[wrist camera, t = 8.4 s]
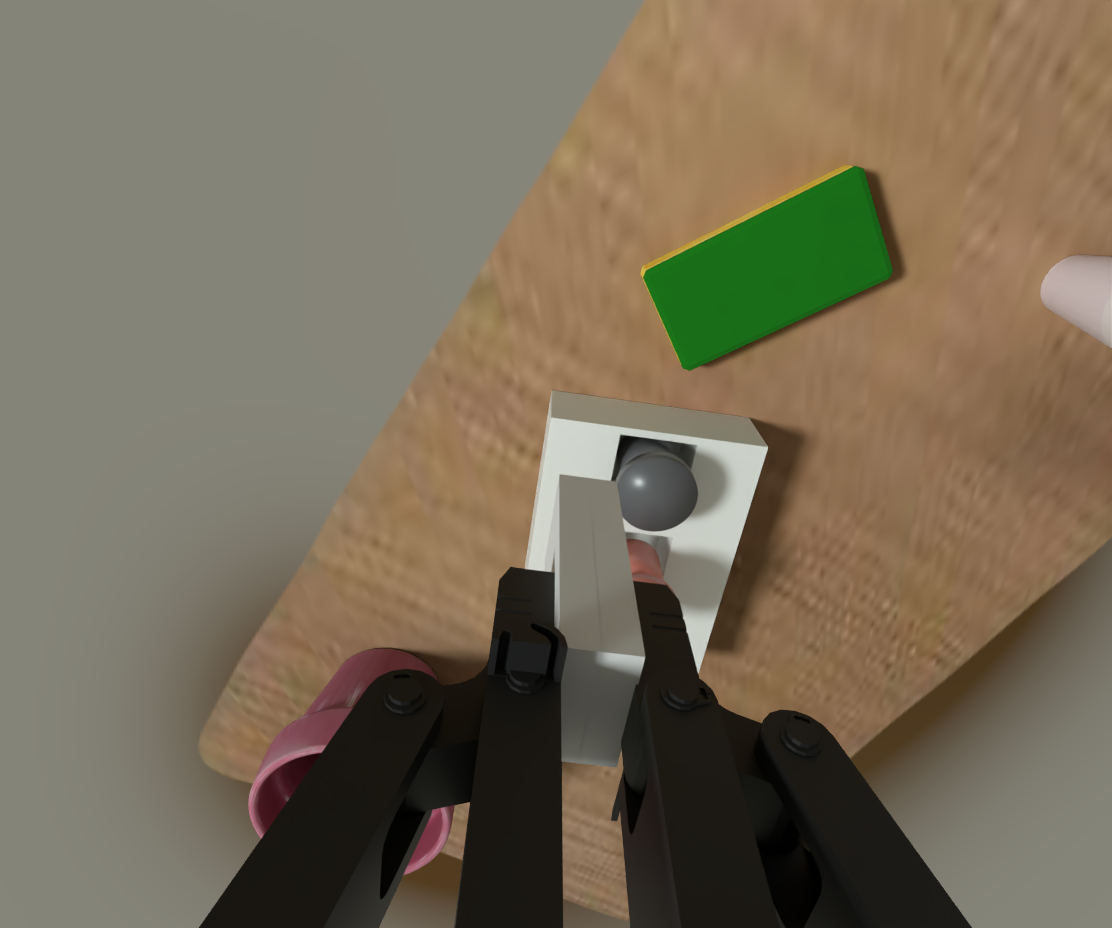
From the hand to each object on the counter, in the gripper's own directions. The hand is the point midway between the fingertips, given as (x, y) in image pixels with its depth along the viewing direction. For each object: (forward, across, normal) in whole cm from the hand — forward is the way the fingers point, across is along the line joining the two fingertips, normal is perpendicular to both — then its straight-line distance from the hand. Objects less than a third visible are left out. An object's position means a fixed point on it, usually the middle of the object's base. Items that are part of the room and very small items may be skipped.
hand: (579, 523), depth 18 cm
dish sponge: (+30, +12, +3) cm, 33 cm away
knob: (+27, +7, -10) cm, 30 cm away
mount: (+29, +7, -17) cm, 35 cm away
